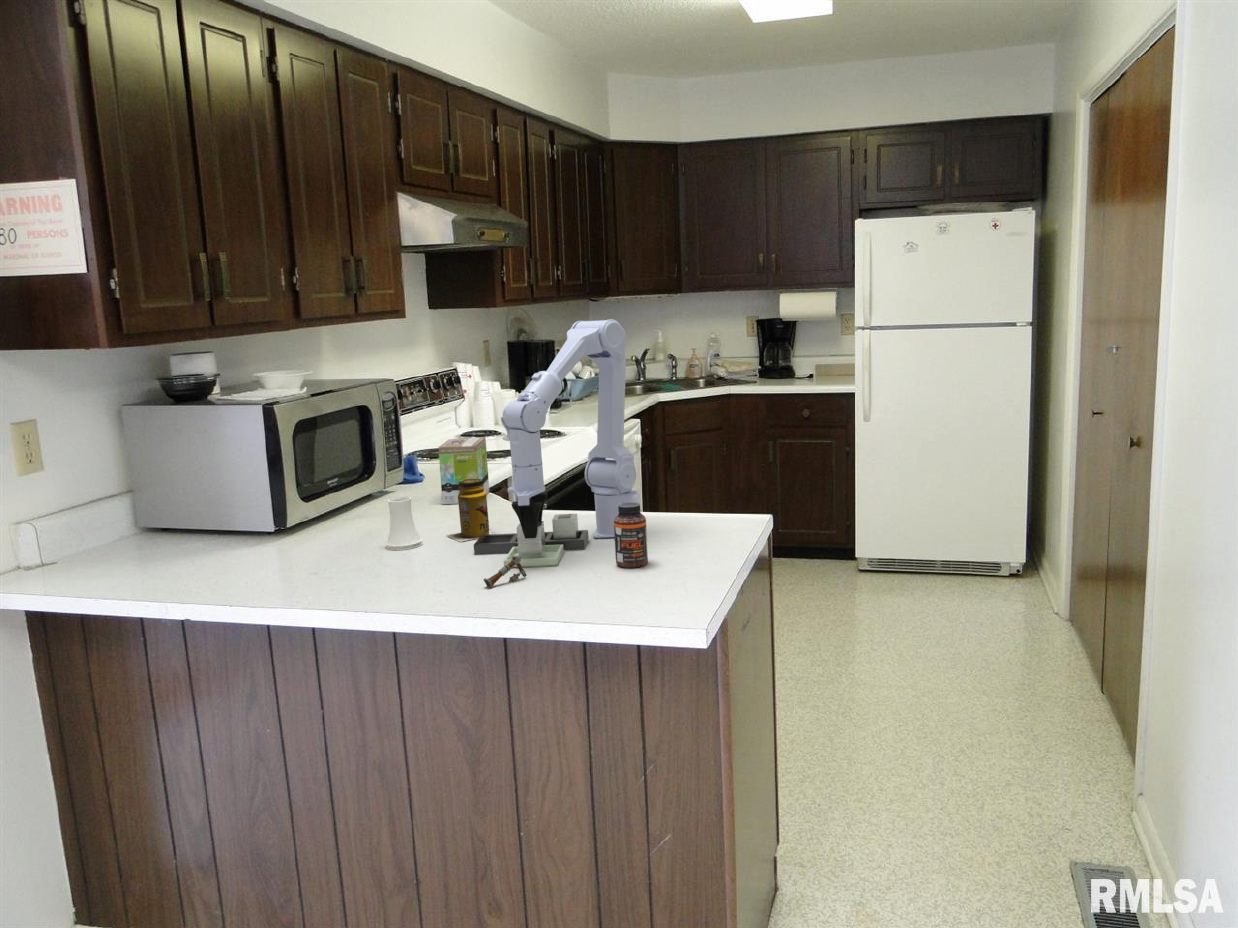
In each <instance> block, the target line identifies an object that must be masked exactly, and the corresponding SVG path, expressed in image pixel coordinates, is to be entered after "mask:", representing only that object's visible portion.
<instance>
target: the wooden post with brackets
mask: <svg viewBox="0 0 1238 928" xmlns="http://www.w3.org/2000/svg"><path fill="white" fill-rule="evenodd" d="M521 558H522V556H521V555H519V556H513V557H512V560H511V562H510V563H508V564H507V565H505V567H504V566H502V567H501V569H499V570H498V572H496V574H494V575H492V576H491V577H487V578H486V577H484V578H483V581H484V583H485V585H486V587H489V588H491V589H494V588H495V586H494V585H495V583H497V581H499V580H500V578H502V577H504V576H505V575H506V574H507V573H509V572H510V571H511V569H517V570H518V571H519V572H516V573H513V575H511V576H510V577H508V578H509V580H508V582H509V583H514V582H516V581H517V580H520V578H519V577H521V576H520V575H522V577H523V578H526V577H527V576H528V575H527V573H526V570H525V569H524V568H522V566H521V564H520V563H519V562H520V561H521ZM514 565H517V567H518V568H517V567H514ZM512 567H513V568H512Z"/></svg>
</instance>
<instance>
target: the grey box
mask: <svg viewBox="0 0 1238 928" xmlns="http://www.w3.org/2000/svg"><path fill="white" fill-rule="evenodd" d="M544 532H545V524H544V521H543V520H542V521H538V529H537V536H536V538H529V539H525V537H524V534H523V531H522V527H521V524H520V522H519V523H518V525H517V526H516V533H517V540H518V552H519V555H521V556H522V558H543V556H544V554H545V552H546V546H545V533H544Z"/></svg>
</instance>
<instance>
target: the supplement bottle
mask: <svg viewBox="0 0 1238 928" xmlns="http://www.w3.org/2000/svg"><path fill="white" fill-rule="evenodd" d="M618 512H619V514H618V516H616V517H615V519H614V535H615V537H614V552H615V554H614V555H615V563H616V565H617V566H619V567H621V568H624V569H625V568H626V569H627V568H628V569H635V568H641V567H644V566H645V565H647V563H648V562H649V555H648V554H649V553H648V533H647V531H648V530H647V520H646V519H647V518H646V517H645V515H644V514H642V513H641V503H640V504H639V503H635V502H627V503H621V504H619V505H618Z"/></svg>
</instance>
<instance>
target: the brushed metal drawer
mask: <svg viewBox="0 0 1238 928" xmlns="http://www.w3.org/2000/svg"><path fill="white" fill-rule="evenodd" d="M578 520H579V519H578V513H563V514H562V513H560V514H554V516H553V517H552V519H551V522H552V532H553V537H554V540H563V539H579V532H578V530H579V522H578Z"/></svg>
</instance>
